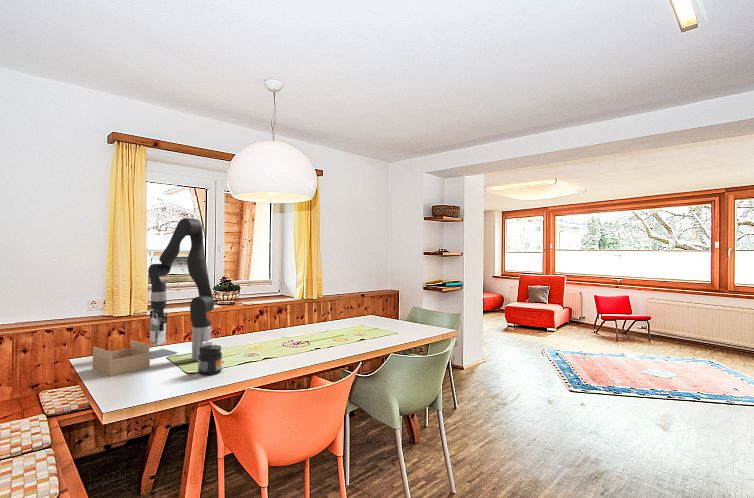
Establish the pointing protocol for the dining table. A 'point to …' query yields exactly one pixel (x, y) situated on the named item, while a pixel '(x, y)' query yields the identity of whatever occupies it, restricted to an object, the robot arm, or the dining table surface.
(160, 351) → the mat
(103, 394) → the dining table surface
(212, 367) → the supplement container
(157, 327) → the syrup box
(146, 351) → the carton
